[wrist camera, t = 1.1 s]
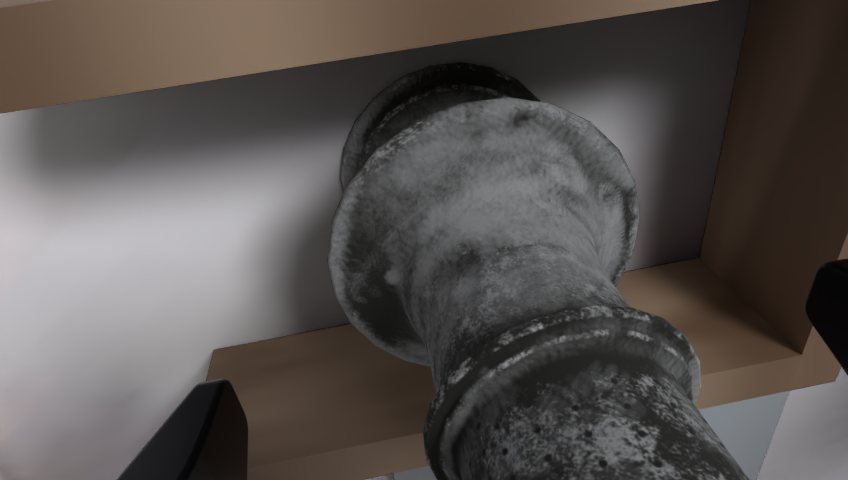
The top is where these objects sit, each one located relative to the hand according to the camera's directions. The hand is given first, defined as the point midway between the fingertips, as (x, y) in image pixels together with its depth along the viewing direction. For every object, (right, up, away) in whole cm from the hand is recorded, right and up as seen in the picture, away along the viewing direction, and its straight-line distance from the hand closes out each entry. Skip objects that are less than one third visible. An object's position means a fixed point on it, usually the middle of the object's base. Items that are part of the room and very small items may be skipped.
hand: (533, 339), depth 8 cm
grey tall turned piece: (-1, +3, +5) cm, 6 cm away
